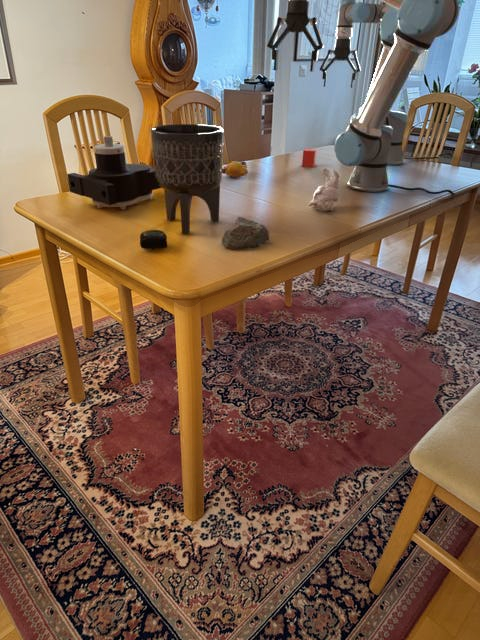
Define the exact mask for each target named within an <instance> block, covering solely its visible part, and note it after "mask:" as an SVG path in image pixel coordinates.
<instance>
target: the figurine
mask: <svg viewBox="0 0 480 640" xmlns="http://www.w3.org/2000/svg"><path fill="white" fill-rule="evenodd" d="M332 173H333V176H332V177H331V173H330V170H329V169H328V168H326V167H324V168H323V169H322V175H323V177H324V179H325V184H324V185H320V186H318V187H317V188H316V190H315V191H314V193H313V195H312V196H313V197H312V199H311V201H310V202H309V203H308V206H309V207H312V208H313V209H321V210H324V211H334V209H333V207H334V205H335V203H337V202H338V201H339V198H340V197H339V195H340V193H339V192H338V189H339V187H340V185H339V182H340V181H339V179H340V174H339V172H337V171H336V169H334V168H332Z"/></svg>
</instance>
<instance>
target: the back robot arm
mask: <svg viewBox="0 0 480 640" xmlns="http://www.w3.org/2000/svg"><path fill="white" fill-rule="evenodd" d="M398 12H399V10H397V9H395V8H393V7H391V6H390V5H388V4H386V3H368V2H364V1H358V2H356V0H340V1H339V6H338V15H337V24H336V33H335V37H336V39H335V43H334V49H328V50H327V53H326V56H325V58H324V60H323V61H322V63H321V65H320V67H319V71H321V72H322V77H321V78H322V80H323V87H324V88H325V87H326V86H327V77H328V72H327V70H329V68H330V67H331V66H332V65H333V63H334V62H335V61H336V60H337V61H347V63H348V65H349V66H350V68H351V70H352V71H353V72H352V73H351V74H352V75H351V83H350V88H351V89H352V88H353V87H354V86H353V85H354V81H356V79H357V74H358V73H359V72H361V71H362V69H361V65H360V63H359V60H358V56H357V50H356V49H354V50H351V47H352V39H351V38H352V37H353V31H354V30H353V28H354V24H378V25H379V29H380V30H379V36H380V38H381V44H382V46H383V48H382V50H381V53H380V56H379V60H378V62H377V65H376V68H375V72H374V74H373V78H372V81H371V84H370V87H369V90H368V92H367V95H366V96H367V97H366V99H365V101H366V100H367V98H368V96H369V94H370V92H371V90H372V88H373V86H374V84H375V82H376V80H377V78H378V76H379V74H380V72H381V70H382V68H383V66H384V64H385V62H386V60H387V58H388V56H389V54H390V52H391V50H392V48H393V46H394V44H395V36H394V32H395V30H396V28H397V26H398ZM332 54H333V55H334V56H333V58H332V59H331V60H330V61H329V62H328V60H329V58H330V56H331V55H332ZM350 55H352V56H353V59H354V63H355V65H356V67H355V66H354V64H353V62H352V60H351V59H350ZM327 62H328V64H326V63H327ZM363 106H364V104H362V105H360V107H359V109H358V112H355V113H354V114H352V115H351V117H350V122H351V120H352V119H354V118H357V117H358V116H359V114H360V112H361V110H362V108H363ZM350 122H349V123H350ZM407 122H408V114H407V113H406V112H402V111H397V110H391V109H390V111H389V113H388V115H387V117H386V119H385V120H384V122H383V124H382V125H385V126H391V127H392V129H393V133H392V136H393V137H392V140H391V146H390V151H389V156H388V162H387V166H400V165H402V164H403V163H404V160H410V161H411V160H433V159H438V158H439V157H441V156H445V155H449V156H450V157H453V154H452V153H451V152H444V153H440V154H436V156H426V157H425V156H424V157H407V156H404V154H403V153H404V152H403V143H404V138H405V132H406V127H407V124H408V123H407Z"/></svg>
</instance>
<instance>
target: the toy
mask: <svg viewBox="0 0 480 640" xmlns="http://www.w3.org/2000/svg"><path fill="white" fill-rule="evenodd" d="M248 172H249V170H248V165H247V162H246V161H241V162H239V161H237V160H235V161H231V162H229V163H226V165H225V166H223V167H222V175H223V174H224V175H227V176H229V177H232V178H241V177H243V176H246V175H247V174H248Z"/></svg>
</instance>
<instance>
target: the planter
mask: <svg viewBox="0 0 480 640" xmlns="http://www.w3.org/2000/svg"><path fill="white" fill-rule="evenodd" d="M149 131H150V140H151V150H152V158H153V166H154V167H153V168H154V169H155V175H156V181H157V184H158V185H159V186H160V187H161V188H160V189H163V190H164V201H165V202H164V203H165V212H166V220H167V221H171V222H172V221H174V220H176V217H177V216H176V215H177V207H178V204H179V205H180V206H179V208H180V224H181V225H180V226H181V235H189V234H190V233H191V206H192V200H193V197H198V198H200V199H201V200H202V201H204V203H205V204H206V206H207V208H208V211H209V216H210V222H212V223H219V220H220V196H221V184H222V181H223V173H222V169H223V162H224V161H223V159H224V140H225V139H224V138H225V137H224V136H225V130H224V129H223V128H222V127H221V126H216V125H211V124H210V125H208V124H198V123H197V124H195V123H172V124H163V125H156V126H152V127H151V128H150V130H149Z"/></svg>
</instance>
